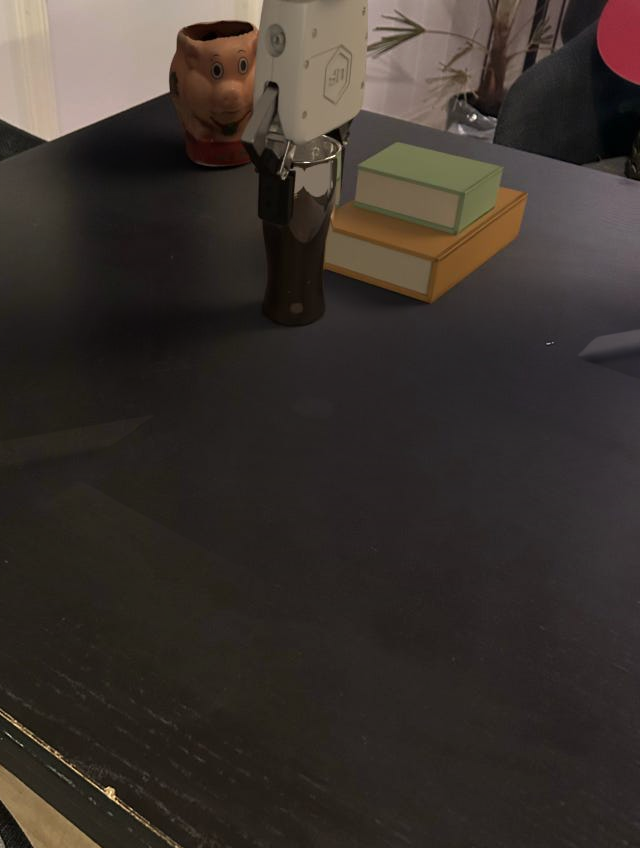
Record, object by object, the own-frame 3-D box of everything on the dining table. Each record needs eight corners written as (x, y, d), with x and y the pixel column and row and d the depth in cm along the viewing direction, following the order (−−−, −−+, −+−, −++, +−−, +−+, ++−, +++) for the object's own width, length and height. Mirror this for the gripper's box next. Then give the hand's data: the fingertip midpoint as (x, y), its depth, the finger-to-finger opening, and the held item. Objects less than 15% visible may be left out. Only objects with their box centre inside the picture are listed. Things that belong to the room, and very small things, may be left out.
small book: (494, 208, 92) (503, 166, 89) (457, 235, 88) (465, 192, 85) (391, 181, 97) (397, 141, 94) (352, 205, 94) (357, 165, 91)
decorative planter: (155, 131, 123) (149, 9, 113) (241, 119, 125) (243, -2, 114) (192, 187, 110) (189, 55, 100) (288, 173, 111) (295, 42, 101)
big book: (517, 236, 97) (528, 193, 94) (431, 303, 88) (439, 258, 85) (403, 205, 104) (409, 163, 100) (312, 265, 95) (315, 221, 92)
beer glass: (244, 305, 90) (247, 143, 79) (303, 286, 92) (314, 126, 81) (282, 336, 86) (291, 169, 75) (343, 316, 88) (361, 150, 77)
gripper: (287, -2, 62) (275, 253, 76) (419, -55, 71) (388, 183, 84) (203, -16, 66) (206, 230, 79) (338, -65, 74) (320, 165, 87)
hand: (299, 204), depth 81 cm, fingers closed on beer glass, 7 cm apart
